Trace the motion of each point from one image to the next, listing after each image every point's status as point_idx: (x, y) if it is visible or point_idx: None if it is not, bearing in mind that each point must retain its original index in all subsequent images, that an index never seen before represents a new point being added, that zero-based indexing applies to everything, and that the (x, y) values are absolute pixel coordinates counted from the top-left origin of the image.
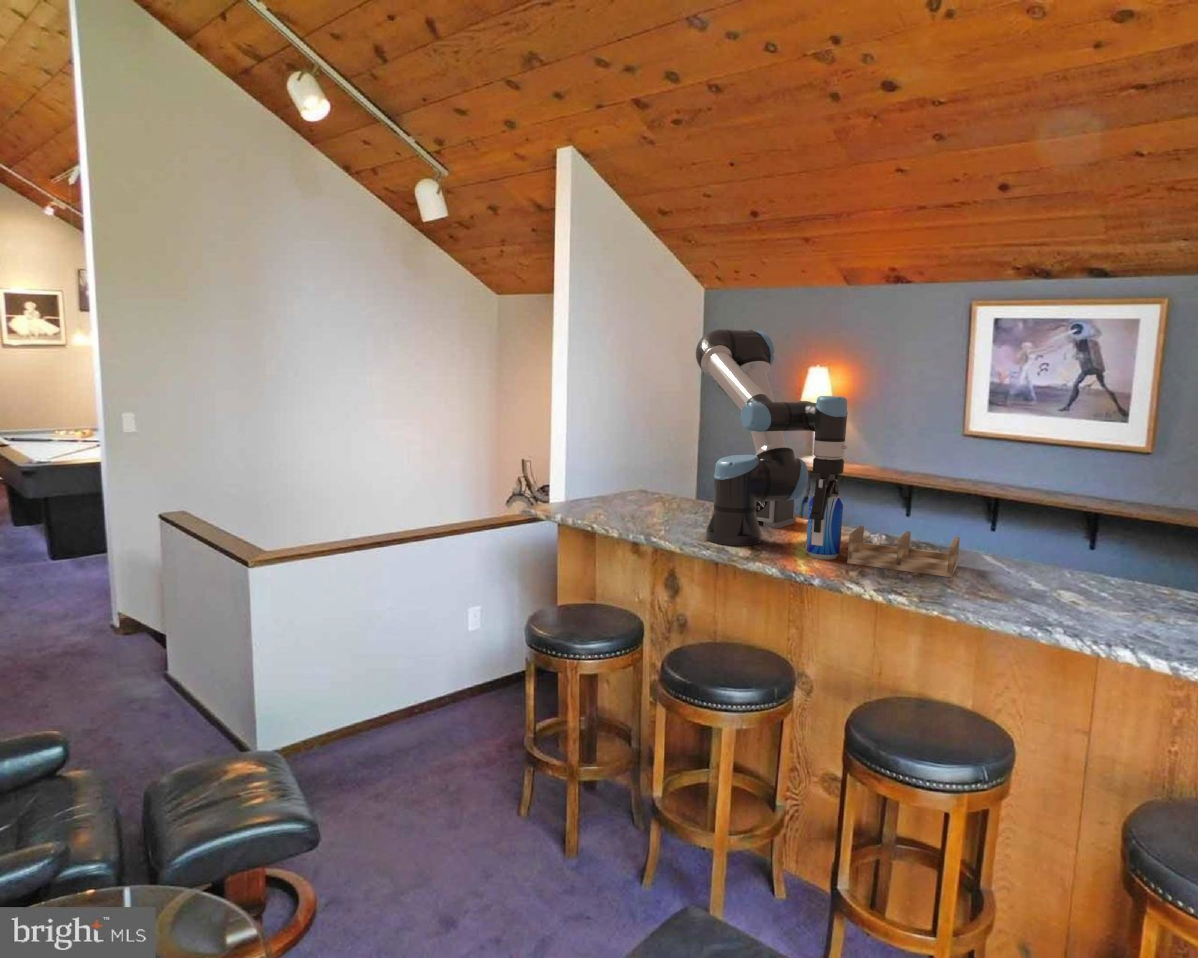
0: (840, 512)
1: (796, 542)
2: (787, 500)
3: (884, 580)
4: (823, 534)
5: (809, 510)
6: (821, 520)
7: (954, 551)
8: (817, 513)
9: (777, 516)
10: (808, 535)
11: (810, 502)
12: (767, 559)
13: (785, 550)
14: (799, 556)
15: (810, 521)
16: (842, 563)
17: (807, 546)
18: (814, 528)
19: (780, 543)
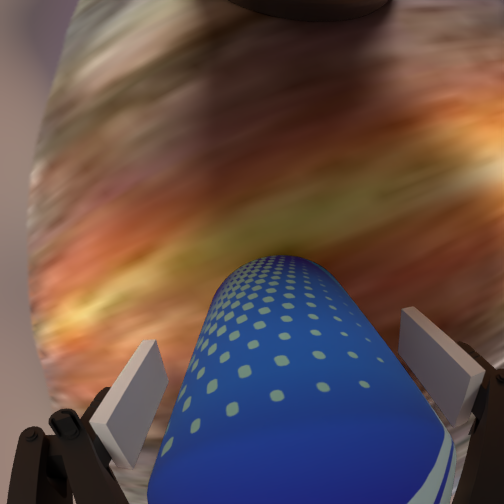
0: None
1: (437, 141)
2: None
3: (146, 474)
4: (154, 412)
5: (194, 404)
6: (112, 456)
7: None
8: (101, 466)
9: None
10: (218, 307)
11: (192, 471)
12: (84, 169)
13: (275, 149)
14: (210, 243)
15: (192, 365)
16: None
17: (226, 282)
18: (95, 402)
19: (381, 89)
